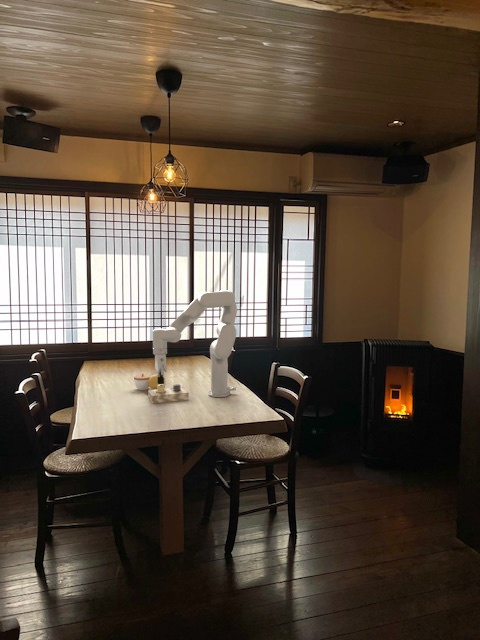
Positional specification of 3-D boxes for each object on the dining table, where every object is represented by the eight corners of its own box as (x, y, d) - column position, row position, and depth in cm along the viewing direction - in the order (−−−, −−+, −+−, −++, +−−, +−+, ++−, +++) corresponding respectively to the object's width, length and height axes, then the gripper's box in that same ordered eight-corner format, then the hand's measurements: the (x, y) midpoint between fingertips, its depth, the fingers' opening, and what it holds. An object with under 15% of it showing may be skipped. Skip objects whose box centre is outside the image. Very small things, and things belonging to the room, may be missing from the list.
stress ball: (146, 393, 277) (152, 385, 270) (145, 378, 282) (150, 370, 275) (163, 394, 281) (168, 386, 274) (161, 379, 287) (167, 371, 280)
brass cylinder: (164, 397, 264) (163, 383, 263) (165, 399, 260) (165, 385, 259) (156, 398, 263) (156, 384, 262) (158, 400, 259) (157, 386, 258)
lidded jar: (130, 390, 280) (130, 375, 279) (138, 386, 290) (138, 371, 289) (147, 391, 277) (147, 376, 276) (155, 387, 288) (154, 372, 287)
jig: (183, 393, 272) (182, 381, 271) (188, 399, 260) (188, 387, 259) (148, 397, 265) (148, 384, 265) (152, 403, 253) (151, 390, 253)
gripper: (169, 353, 253) (170, 386, 255) (164, 348, 267) (164, 380, 269) (155, 353, 250) (156, 387, 252) (150, 349, 264) (151, 381, 266)
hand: (160, 383), depth 260 cm, fingers closed
